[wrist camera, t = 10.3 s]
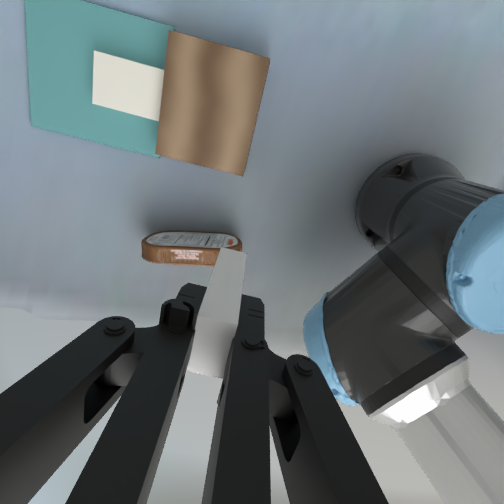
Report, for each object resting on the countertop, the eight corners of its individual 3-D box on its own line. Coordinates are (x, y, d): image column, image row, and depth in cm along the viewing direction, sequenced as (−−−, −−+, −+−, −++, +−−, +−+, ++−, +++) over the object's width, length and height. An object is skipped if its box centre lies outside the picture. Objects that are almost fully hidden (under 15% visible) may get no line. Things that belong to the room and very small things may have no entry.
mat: (174, 28, 38) (173, 26, 37) (159, 157, 44) (158, 157, 43) (27, -14, 36) (23, -16, 36) (33, 125, 42) (30, 125, 42)
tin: (152, 244, 49) (132, 266, 42) (151, 225, 48) (130, 245, 40) (243, 248, 49) (240, 272, 42) (244, 230, 48) (241, 251, 40)
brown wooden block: (269, 64, 39) (270, 58, 35) (244, 171, 44) (243, 176, 41) (177, 38, 38) (168, 29, 34) (164, 151, 43) (155, 154, 40)
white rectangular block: (171, 73, 39) (167, 70, 37) (165, 122, 41) (161, 122, 39) (101, 53, 38) (93, 50, 36) (99, 104, 41) (92, 103, 39)
